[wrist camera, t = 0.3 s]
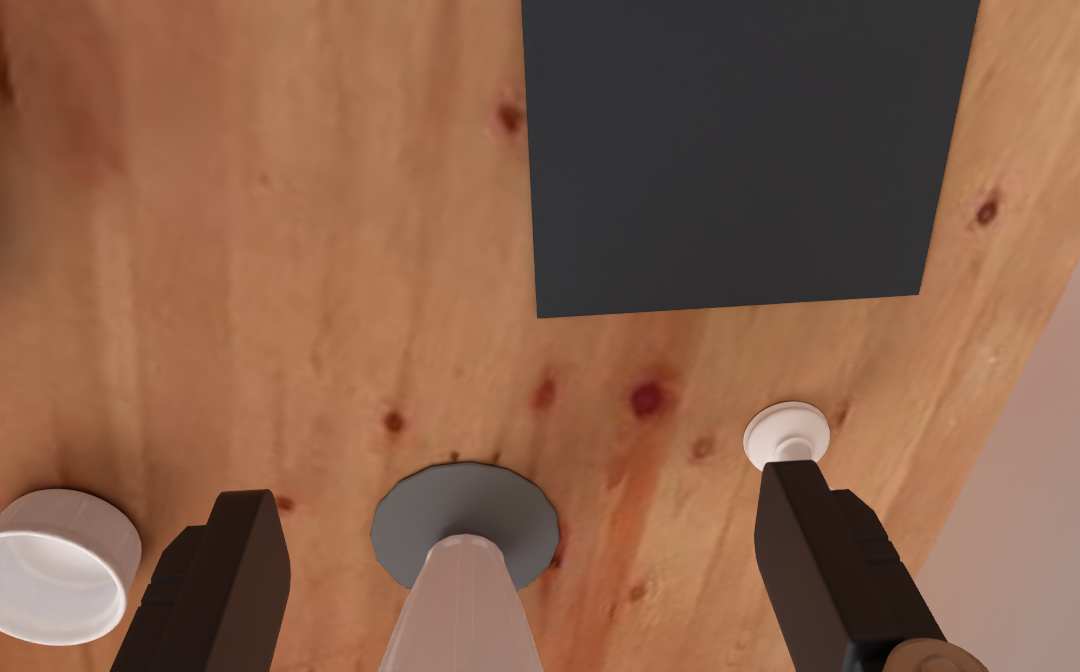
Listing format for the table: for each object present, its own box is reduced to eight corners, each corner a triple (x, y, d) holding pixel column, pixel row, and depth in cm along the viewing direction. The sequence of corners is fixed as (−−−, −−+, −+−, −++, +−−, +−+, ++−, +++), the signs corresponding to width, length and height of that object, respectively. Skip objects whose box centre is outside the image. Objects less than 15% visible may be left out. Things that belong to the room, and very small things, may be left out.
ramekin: (84, 610, 53) (54, 668, 50) (-40, 527, 49) (-83, 583, 46) (184, 545, 51) (160, 601, 47) (62, 452, 47) (25, 505, 43)
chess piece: (726, 452, 50) (776, 581, 41) (775, 388, 47) (838, 510, 39) (794, 479, 51) (856, 610, 42) (844, 419, 49) (921, 544, 40)
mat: (515, -120, 34) (515, -119, 34) (1005, -144, 35) (1010, -144, 34) (537, 315, 44) (537, 318, 44) (915, 291, 45) (919, 295, 44)
